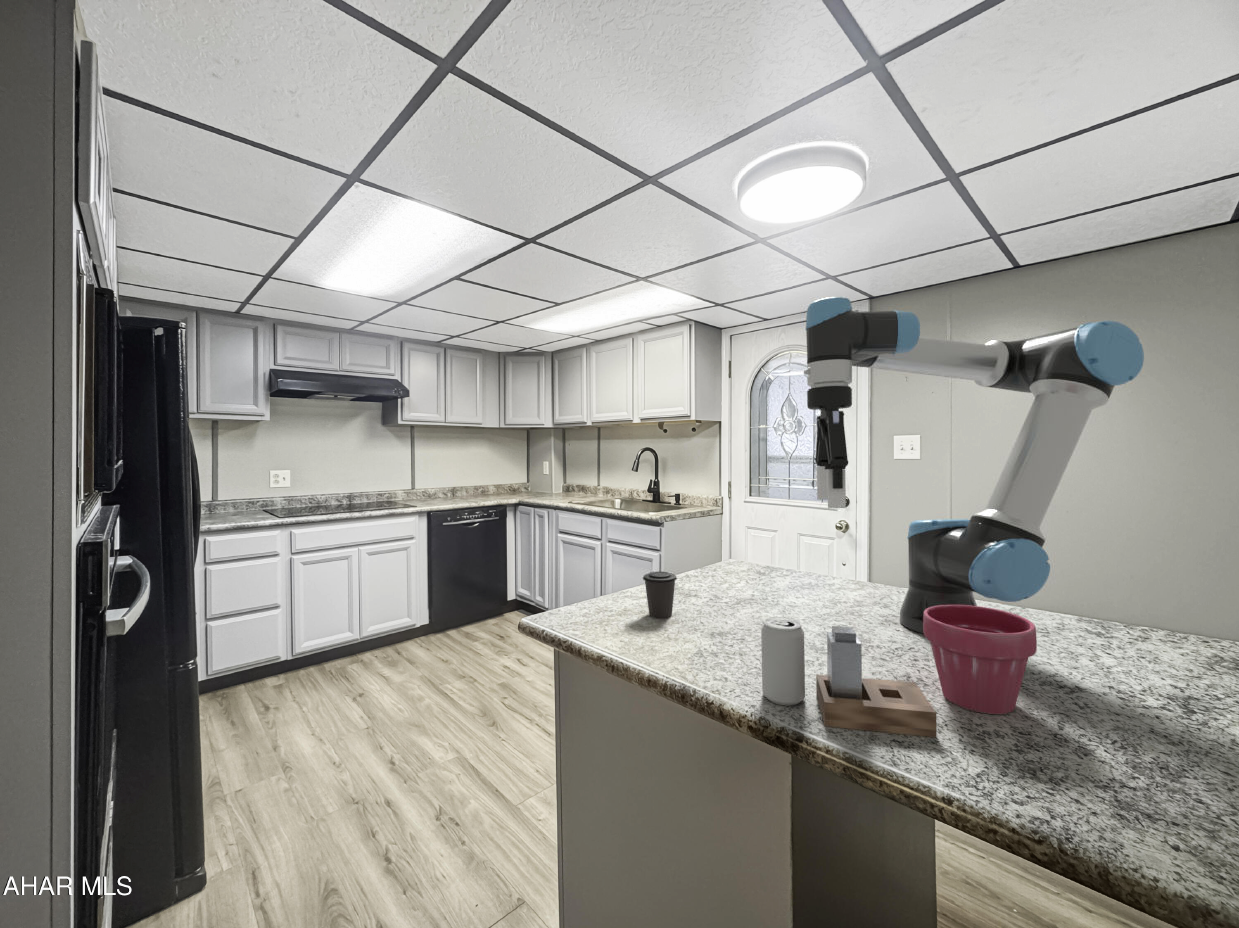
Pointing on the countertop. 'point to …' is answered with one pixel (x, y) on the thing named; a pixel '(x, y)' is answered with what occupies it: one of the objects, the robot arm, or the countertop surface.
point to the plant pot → (980, 654)
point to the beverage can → (783, 660)
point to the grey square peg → (844, 663)
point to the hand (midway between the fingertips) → (830, 503)
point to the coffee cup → (660, 593)
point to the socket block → (879, 708)
